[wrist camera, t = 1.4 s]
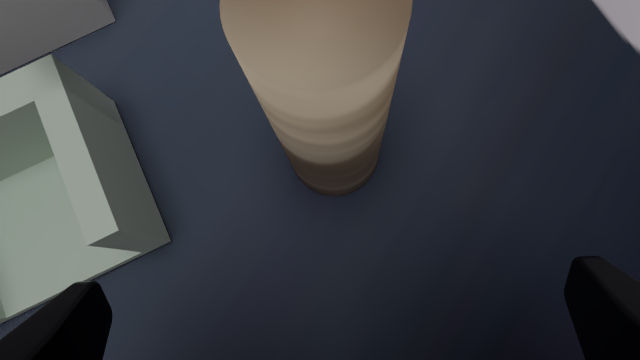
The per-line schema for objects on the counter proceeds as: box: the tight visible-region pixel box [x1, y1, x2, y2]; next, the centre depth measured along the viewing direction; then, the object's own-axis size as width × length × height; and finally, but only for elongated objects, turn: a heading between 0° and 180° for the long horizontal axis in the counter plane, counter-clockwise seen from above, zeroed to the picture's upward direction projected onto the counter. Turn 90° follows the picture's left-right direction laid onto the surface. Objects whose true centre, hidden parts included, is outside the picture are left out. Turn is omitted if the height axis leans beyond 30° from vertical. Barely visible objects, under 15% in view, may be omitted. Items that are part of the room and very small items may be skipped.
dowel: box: [220, 0, 412, 196], centre depth 16 cm, size 4×4×12 cm
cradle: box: [0, 54, 171, 324], centre depth 20 cm, size 8×9×5 cm
